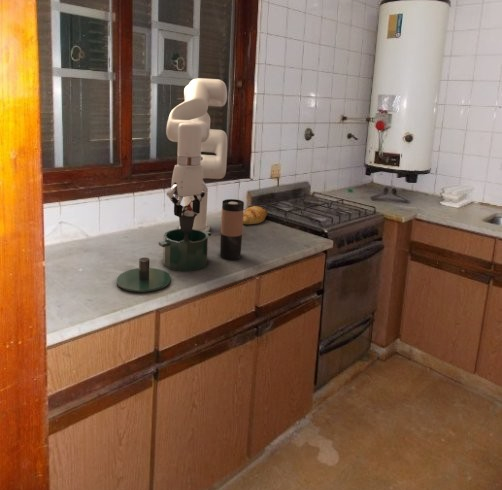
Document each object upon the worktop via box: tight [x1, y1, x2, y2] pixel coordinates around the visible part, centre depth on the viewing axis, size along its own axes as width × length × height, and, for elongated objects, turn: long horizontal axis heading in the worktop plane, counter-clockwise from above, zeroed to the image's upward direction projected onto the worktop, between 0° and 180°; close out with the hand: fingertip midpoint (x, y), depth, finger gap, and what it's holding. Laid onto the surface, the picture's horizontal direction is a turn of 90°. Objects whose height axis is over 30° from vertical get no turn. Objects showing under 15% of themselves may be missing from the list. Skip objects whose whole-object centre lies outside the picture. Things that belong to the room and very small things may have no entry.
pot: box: [158, 228, 212, 272], centre depth 147 cm, size 15×20×10 cm
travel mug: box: [219, 198, 245, 261], centre depth 154 cm, size 8×8×20 cm
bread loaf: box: [243, 205, 268, 225], centre depth 200 cm, size 21×10×8 cm, turn 150°
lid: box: [116, 257, 172, 293], centre depth 130 cm, size 16×16×7 cm
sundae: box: [178, 200, 197, 242], centre depth 145 cm, size 7×7×15 cm
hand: (187, 213), depth 145 cm, fingers closed on sundae, 6 cm apart
